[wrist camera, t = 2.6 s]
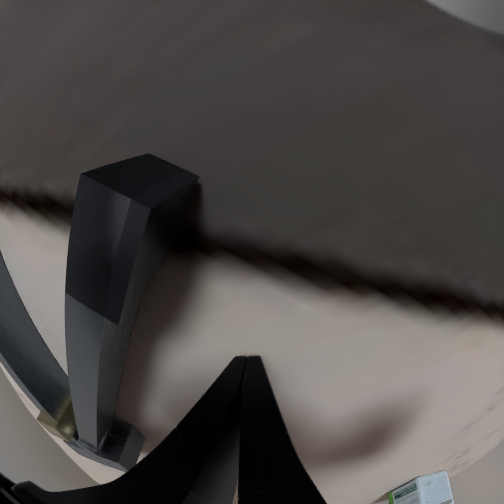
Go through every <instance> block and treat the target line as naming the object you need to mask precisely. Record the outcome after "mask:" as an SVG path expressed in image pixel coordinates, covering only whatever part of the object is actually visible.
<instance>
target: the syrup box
mask: <svg viewBox="0 0 504 504" xmlns="http://www.w3.org/2000/svg"><path fill="white" fill-rule="evenodd" d="M388 498H389V504H454V501H453V496H452V491H451V487H450V483H449V479H448V475H447V472H446V471H441V472H436V473H432V474H428V475H424V476H420V477H417V478H415V479H414V480H412V481H411V482H409V483H407V484H405V485H403V486H401V487H399V488H397V489H395V490H393V491H391V492H389V493H388Z"/></svg>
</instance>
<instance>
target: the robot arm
mask: <svg viewBox="0 0 504 504" xmlns="http://www.w3.org/2000/svg"><path fill="white" fill-rule="evenodd" d="M176 427H177V428H174V429H173V430H172V431H171V433H170V434H169V435H168V436H167V437H166V438H165V439H164V440H163V441H162V442H161V443H160V444H159V445H158V446H157V447H156V448H155V449H154V450H153V451H151V452H150V453H149V454H148V455H147V456H146V457H145V458H143V459H142V460H141V461H140V462H138V463H137V464H136V465H135V466H133V467H132V468H131V469H130V470H128V471H127V472H126V473H125V474H123V475H122V476H121V477H119V478H117V479H116V480H114V481H111V482H109V483H106V484H102V485H97V486H92V487H87V488H81V489H75V490H69V491H61V492H49V491H46V490H44V489H42V488H41V487H39V486H38V485H36V484H34V483H33V482H31V481H25V482H21V483H18V484H15V483H14V482H13V481H11V480H10V479H8V478H7V477H6V476H4V475H3V474H2V473H0V504H232V502H233V498H234V493H235V488H236V484H237V479H238V474H239V480H238V498H239V499H238V504H327V503H326V501H325V500H324V498H323V497H322V495H321V494H320V492H319V491H318V489H317V487H316V486H315V484H314V483H313V481H312V479H311V478H310V476H309V475H308V473H307V471H306V470H305V468H304V466H303V464H302V463H301V461H300V459H299V457H298V455H297V453H296V450H295V448H294V446H293V444H292V441H291V438H290V436H289V434H288V431H287V428H286V425H285V423H284V420H283V417H282V415H281V412H280V409H279V406H278V404H277V401H276V398H275V395H274V393H273V390H272V387H271V384H270V382H269V379H268V376H267V373H266V370H265V368H264V365H263V362H262V359H261V357H260V356H248V357H247V356H236V357H234V358H233V359H232V361H231V362H230V363H229V364H228V366H227V367H226V368H225V369H224V371H223V372H222V373H221V374H220V376H219V377H218V378H217V379H216V380H215V382H214V383H213V384H212V385H211V386H210V388H209V389H208V390H207V391H206V392H205V394H204V395H203V396H202V397H201V398H200V399H199V401H198V402H197V403H196V404H195V405H194V407H193V408H192V409H191V410H190V411H189V412H188V413H187V415H186V416H185V417H184V418H183V419H182V420H181V421H180V423H179V424H178V425H177V426H176Z"/></svg>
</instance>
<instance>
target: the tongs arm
mask: <svg viewBox="0 0 504 504" xmlns="http://www.w3.org/2000/svg"><path fill="white" fill-rule="evenodd" d="M198 179H199V176H197V175H195V174H193V173H191V172H189V171H187V170H184V169H182V168H180V167H178V166H176V165H174V164H171V163H169V162H167V161H165V160H163V159H160V158H158V157H156V156H154V155H152V154H145V155H141V156H137V157H134V158H130V159H126V160H123V161H119V162H116V163H113V164H109V165H106V166H103V167H100V168H97V169H93V170H90V171H87V172H84V173H82V174H81V175H80V180H79V184H78V189H77V194H76V199H75V204H74V210H73V216H72V223H71V230H70V237H69V246H68V256H67V268H66V285H65V338H66V355H67V367H68V376H69V385H70V392H71V399H72V405H73V411H74V416H75V421H76V426H77V431H78V435H79V439H78V441H77V443H76V444H77V445H78V446H79V447H80V448H81V449H83V450H84V451H86V452H88V453H90V454H91V455H94V456H96V457H99V456H100V453H101V451H102V449H103V447H104V444H105V442H106V440H107V438H108V436H109V433H110V431H111V429H112V427H113V425H114V423H115V420H116V418H115V416H114V410H115V405H116V399H117V394H118V389H119V384H120V379H121V374H122V369H123V365H124V360H125V356H126V352H127V347H128V343H129V339H130V335H131V331H132V327H133V324H134V320H135V316H136V313H137V309H138V306H139V302H140V299H141V295H142V293H143V292H144V291H145V289H146V288H147V286H148V285H149V284H150V282H151V281H152V280H153V278H154V277H155V276H156V275H157V273H158V272H159V271H160V269H161V268H162V267H163V265H164V263H165V260H166V258H167V255H168V252H169V250H170V247H171V244H172V242H173V239H174V237H175V234H176V232H177V229H178V226H179V224H180V221H181V219H182V217H183V214H184V212H185V209H186V207H187V204H188V202H189V200H190V197H191V195H192V193H193V190H194V188H195V186H196V183H197V181H198Z"/></svg>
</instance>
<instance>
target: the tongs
mask: <svg viewBox="0 0 504 504" xmlns="http://www.w3.org/2000/svg"><path fill="white" fill-rule="evenodd" d="M0 362H1V363H2V364H3V366H4V367H5V369H6V370H7V371H8V373H9V374H10V375H11V377H12V378H13V379H14V381H15V382H16V383H17V384H18V386H19V387H20V388H21V389H22V391H23V392H24V393H25V394H26V395H27V397H28V398H29V399H30V400H31V401H32V402H33V403H34V405H35V406H36V407H37V408H38V409H39V410H40V411H41V412H40V414H39V416H38V417H37V420H38V421H39V422H40V424H42V425H43V426H44V427H45V428H46V429H47V430H48V431H49V432H50V433H51V434H53V435H55V436H57V437H59V438H61V439H63V440H64V442H65V443H66V444H67V445H68V446H69V447H71V448H72V449H73V450H74V451H75V452H77V453H78V454H80V455H82V456H84V457H87V458H89V459H91V460H94V461H96V462H99V463H101V464H104V465H107V466H109V467H112V468H115V469H118V470H121V471H124V472H127V471H128V470H130V469H131V468H132V467H133V466H135V465H136V463H137V460H138V457H139V455H140V452H141V449H142V446H143V444H144V441H145V438H144V437H143V436H142V435H141V434H140V433H139V432H138V431H137V430H136V429H135V427H134V426H132V425H128V424H124V423H120V422H116V421H115V423H114V425H113V427H112V429H111V431H110V433H109V436H108V438H107V440H106V442H105V444H104V447H103V449H102V451H101V453H100V456H99V457H96V456H94V455H91V454H90V453H88V452H86V451H84V450H83V449H81V448H80V447H79V446H78V445H77V444H76V443H77V441H78V439H79V435H78V431H77V426H76V421H75V416H74V411H73V405H72V399H71V392H70V385H69V378H68V377H67V376H66V374H65V373H64V371H63V370H62V369H61V367H60V366H59V364H58V363H57V361H56V360H55V358H54V357H53V355H52V354H51V352H50V351H49V349H48V348H47V346H46V344H45V343H44V341H43V340H42V338H41V336H40V335H39V333H38V331H37V329H36V328H35V326H34V324H33V322H32V321H31V319H30V317H29V315H28V313H27V311H26V309H25V307H24V305H23V303H22V301H21V299H20V297H19V295H18V293H17V291H16V289H15V287H14V285H13V282H12V280H11V278H10V275H9V273H8V271H7V268H6V266H5V263H4V261H3V258H2V255H1V253H0Z"/></svg>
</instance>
